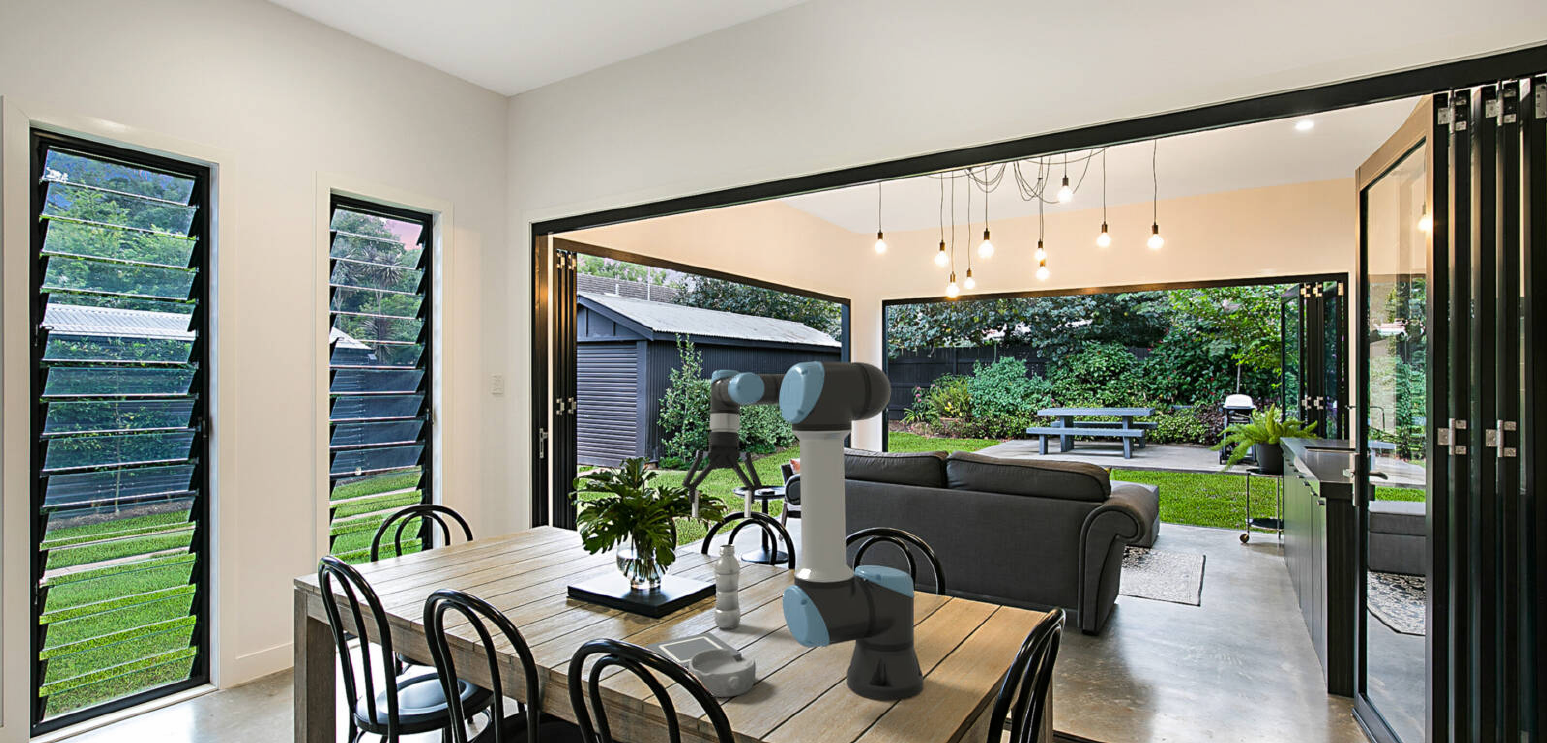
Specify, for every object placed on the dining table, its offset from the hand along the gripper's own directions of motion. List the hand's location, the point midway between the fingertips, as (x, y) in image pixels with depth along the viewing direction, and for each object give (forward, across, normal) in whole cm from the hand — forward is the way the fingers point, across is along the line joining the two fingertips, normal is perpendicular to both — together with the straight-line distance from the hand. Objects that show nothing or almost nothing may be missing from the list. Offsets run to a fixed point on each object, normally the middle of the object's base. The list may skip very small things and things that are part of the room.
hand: (721, 517), depth 182 cm
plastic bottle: (+27, -3, -2) cm, 27 cm away
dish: (+32, +8, +30) cm, 44 cm away
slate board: (+29, +9, +12) cm, 33 cm away
